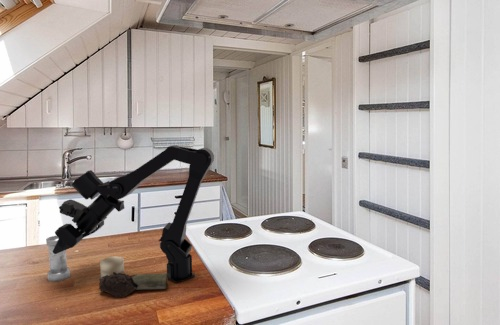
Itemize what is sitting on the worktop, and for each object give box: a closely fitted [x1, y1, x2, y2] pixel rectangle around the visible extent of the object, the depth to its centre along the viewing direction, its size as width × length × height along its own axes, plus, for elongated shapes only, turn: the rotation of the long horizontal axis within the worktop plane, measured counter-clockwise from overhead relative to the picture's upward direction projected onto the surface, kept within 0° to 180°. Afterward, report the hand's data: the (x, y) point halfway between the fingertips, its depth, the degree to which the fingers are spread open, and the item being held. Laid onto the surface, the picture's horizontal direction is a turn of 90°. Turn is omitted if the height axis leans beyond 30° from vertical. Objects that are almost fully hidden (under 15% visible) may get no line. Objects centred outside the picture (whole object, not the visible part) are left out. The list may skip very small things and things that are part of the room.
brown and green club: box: [98, 272, 168, 298], centre depth 92 cm, size 18×7×6 cm, turn 98°
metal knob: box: [45, 235, 71, 283], centre depth 101 cm, size 6×6×12 cm
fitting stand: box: [99, 256, 126, 279], centre depth 101 cm, size 7×7×5 cm
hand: (62, 247), depth 100 cm, fingers open, 9 cm apart
